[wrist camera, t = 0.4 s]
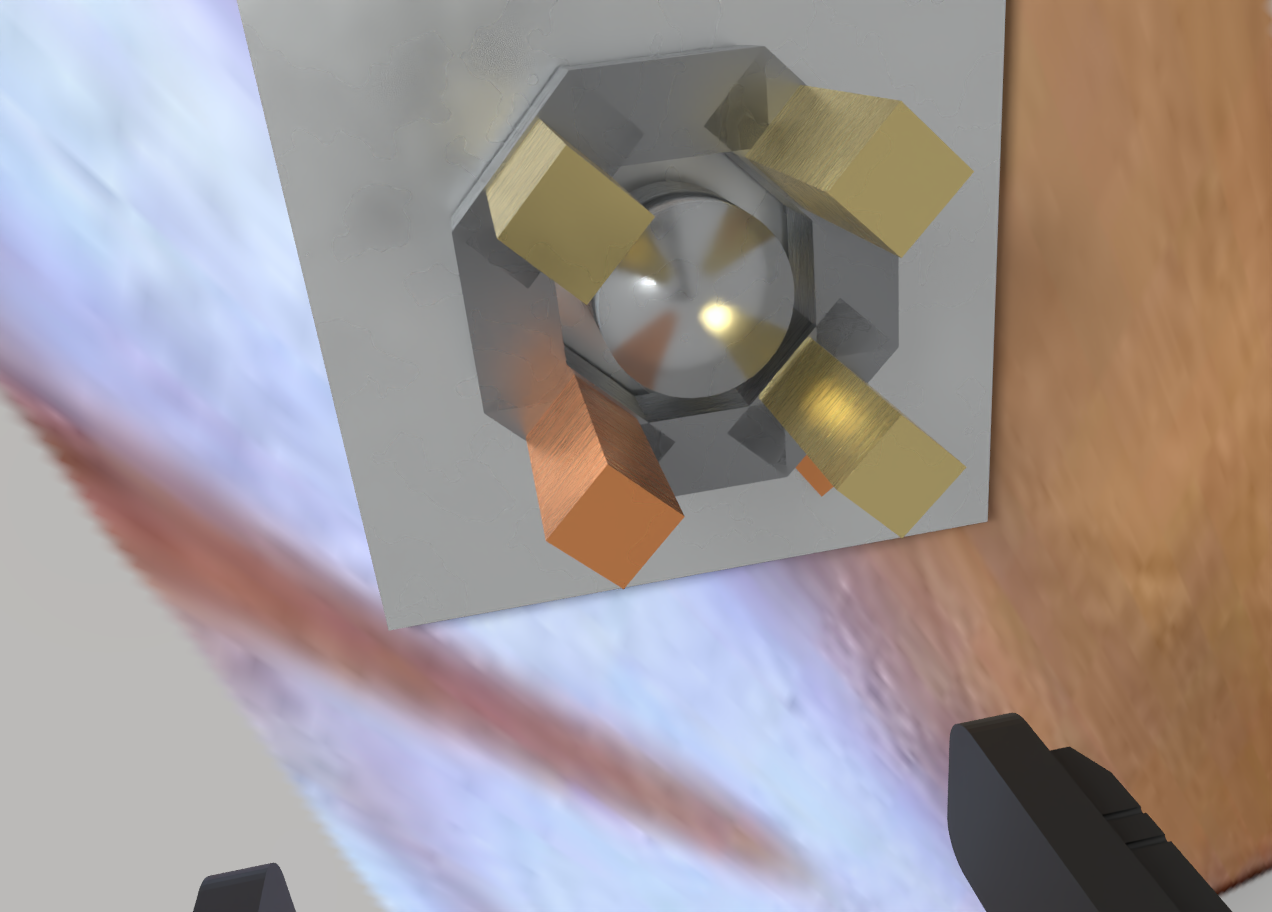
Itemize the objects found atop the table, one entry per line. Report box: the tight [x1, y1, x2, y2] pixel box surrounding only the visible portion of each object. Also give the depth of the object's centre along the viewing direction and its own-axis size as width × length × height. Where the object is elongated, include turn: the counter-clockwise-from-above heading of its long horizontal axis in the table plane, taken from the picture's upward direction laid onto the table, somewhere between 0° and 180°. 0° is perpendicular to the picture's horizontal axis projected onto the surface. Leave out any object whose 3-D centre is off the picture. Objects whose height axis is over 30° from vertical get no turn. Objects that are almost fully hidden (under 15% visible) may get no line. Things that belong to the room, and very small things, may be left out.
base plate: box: [237, 0, 1006, 630], centre depth 31 cm, size 22×22×5 cm
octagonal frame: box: [451, 45, 974, 589], centre depth 28 cm, size 13×13×9 cm
